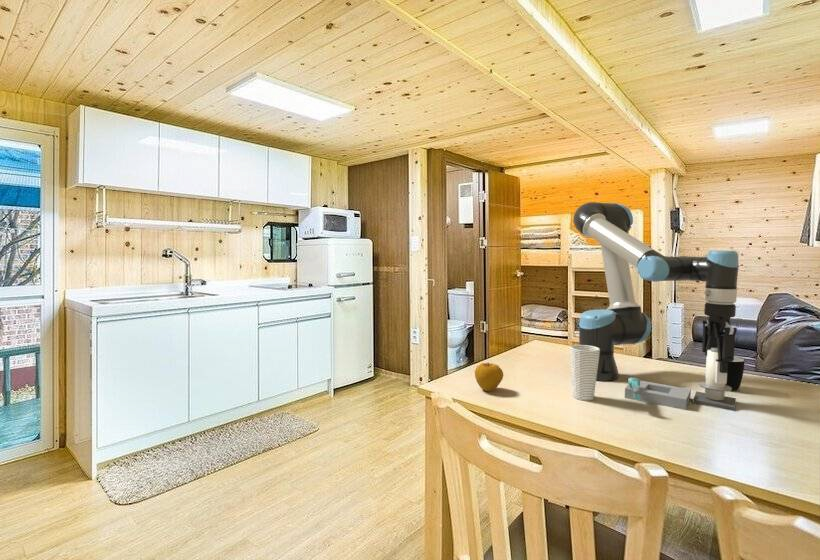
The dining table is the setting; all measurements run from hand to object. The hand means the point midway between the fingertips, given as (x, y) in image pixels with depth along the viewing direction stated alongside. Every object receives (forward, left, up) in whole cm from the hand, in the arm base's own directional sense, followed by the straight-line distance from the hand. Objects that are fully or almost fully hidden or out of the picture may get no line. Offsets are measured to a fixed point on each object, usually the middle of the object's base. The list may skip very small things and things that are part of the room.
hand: (715, 380), depth 131 cm
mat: (0, 0, -7) cm, 7 cm away
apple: (-58, -33, -7) cm, 67 cm away
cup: (-32, -21, -7) cm, 39 cm away
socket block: (-14, -7, -7) cm, 17 cm away
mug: (+1, +20, -7) cm, 21 cm away
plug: (0, 0, -5) cm, 5 cm away
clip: (-18, -17, -3) cm, 25 cm away
